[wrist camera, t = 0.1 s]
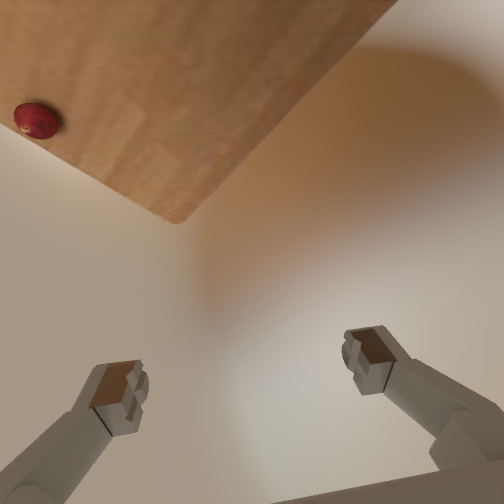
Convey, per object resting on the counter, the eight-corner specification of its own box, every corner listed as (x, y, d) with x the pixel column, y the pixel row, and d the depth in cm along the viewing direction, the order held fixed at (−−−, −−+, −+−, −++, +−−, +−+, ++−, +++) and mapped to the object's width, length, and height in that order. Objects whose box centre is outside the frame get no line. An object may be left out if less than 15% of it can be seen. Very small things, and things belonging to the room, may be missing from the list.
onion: (56, 99, 44) (35, 113, 39) (69, 131, 48) (52, 148, 43) (19, 95, 43) (-7, 110, 38) (36, 129, 47) (14, 146, 42)
